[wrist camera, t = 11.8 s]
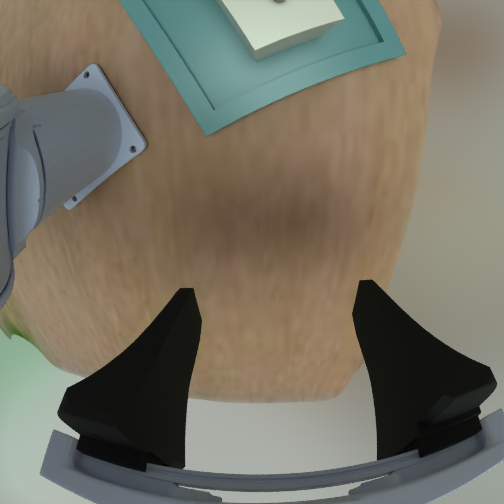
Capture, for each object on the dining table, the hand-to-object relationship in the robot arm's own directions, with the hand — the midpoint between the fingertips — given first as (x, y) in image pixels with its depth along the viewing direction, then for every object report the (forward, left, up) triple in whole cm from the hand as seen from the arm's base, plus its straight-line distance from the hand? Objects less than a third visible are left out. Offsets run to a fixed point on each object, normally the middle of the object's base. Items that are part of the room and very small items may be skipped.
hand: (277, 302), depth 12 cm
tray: (+6, +14, -10) cm, 18 cm away
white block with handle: (+6, +14, -9) cm, 18 cm away
